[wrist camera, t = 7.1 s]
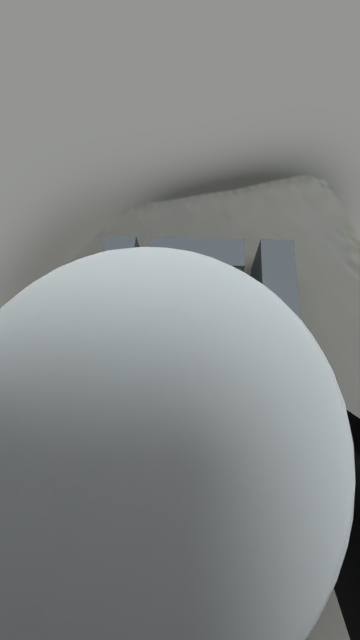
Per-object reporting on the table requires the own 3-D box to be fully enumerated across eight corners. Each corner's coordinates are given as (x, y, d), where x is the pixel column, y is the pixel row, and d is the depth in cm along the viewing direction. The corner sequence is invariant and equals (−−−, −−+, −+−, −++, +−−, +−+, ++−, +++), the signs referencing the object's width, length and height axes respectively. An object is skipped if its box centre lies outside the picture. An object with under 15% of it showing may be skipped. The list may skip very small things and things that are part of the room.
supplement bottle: (96, 430, 15) (-265, 399, 3) (185, 348, 17) (156, 128, 5) (180, 543, 13) (-1, 1629, 1) (273, 438, 14) (613, 436, 3)
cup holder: (292, 449, 20) (313, 451, 16) (87, 431, 21) (63, 430, 17) (279, 268, 25) (293, 240, 22) (119, 263, 27) (106, 235, 23)
